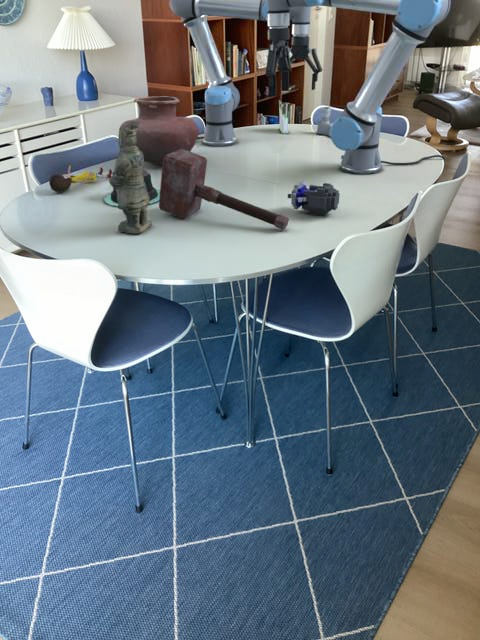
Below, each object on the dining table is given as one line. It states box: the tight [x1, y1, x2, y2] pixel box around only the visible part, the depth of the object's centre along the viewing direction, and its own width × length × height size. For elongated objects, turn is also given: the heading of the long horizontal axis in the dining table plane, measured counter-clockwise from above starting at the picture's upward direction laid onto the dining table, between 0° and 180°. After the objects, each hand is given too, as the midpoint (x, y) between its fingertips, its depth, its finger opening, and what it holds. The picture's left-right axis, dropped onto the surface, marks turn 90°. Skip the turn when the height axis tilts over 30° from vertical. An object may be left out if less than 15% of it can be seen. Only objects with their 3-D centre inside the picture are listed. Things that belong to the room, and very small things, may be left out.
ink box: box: [278, 99, 289, 134], centre depth 269 cm, size 3×10×14 cm, turn 4°
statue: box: [108, 121, 153, 235], centre depth 154 cm, size 11×9×30 cm
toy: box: [287, 180, 341, 216], centre depth 168 cm, size 9×9×15 cm
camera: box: [316, 106, 334, 137], centre depth 260 cm, size 9×12×15 cm
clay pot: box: [118, 95, 200, 166], centre depth 218 cm, size 30×30×25 cm
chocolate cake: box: [103, 168, 160, 207], centre depth 186 cm, size 15×19×20 cm
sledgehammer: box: [158, 149, 290, 231], centre depth 163 cm, size 17×10×40 cm
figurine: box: [48, 164, 113, 193], centre depth 199 cm, size 13×8×25 cm
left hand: (298, 88), depth 248 cm, fingers open, 13 cm apart
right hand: (278, 93), depth 201 cm, fingers open, 13 cm apart
